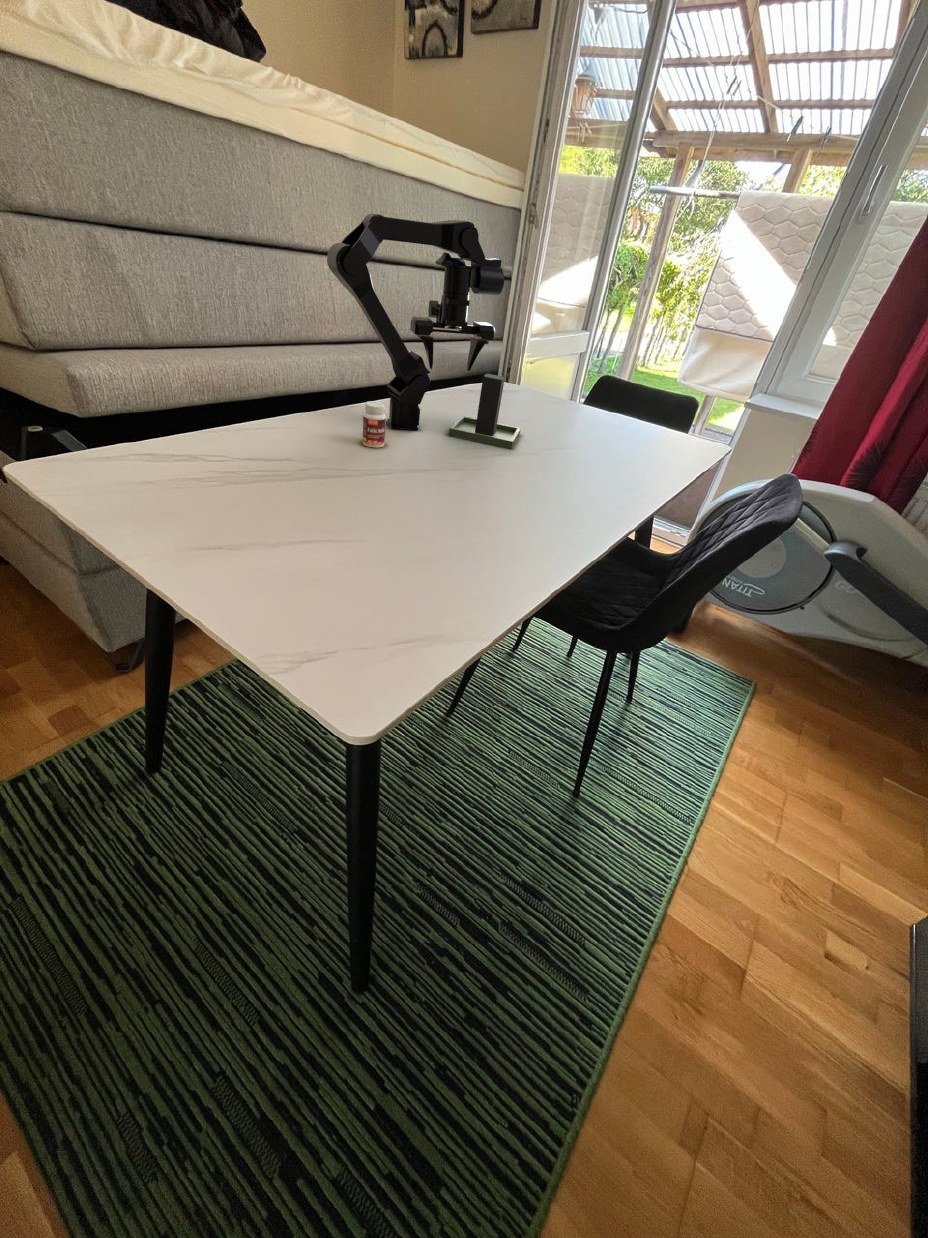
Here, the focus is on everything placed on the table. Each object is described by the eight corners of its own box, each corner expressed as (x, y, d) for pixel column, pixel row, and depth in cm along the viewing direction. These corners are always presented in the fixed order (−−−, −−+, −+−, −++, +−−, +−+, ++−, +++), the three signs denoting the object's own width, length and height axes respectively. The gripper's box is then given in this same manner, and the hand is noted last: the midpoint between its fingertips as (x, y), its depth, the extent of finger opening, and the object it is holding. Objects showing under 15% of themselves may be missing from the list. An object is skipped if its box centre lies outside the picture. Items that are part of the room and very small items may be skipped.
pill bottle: (366, 448, 109) (367, 407, 104) (359, 440, 112) (360, 400, 107) (387, 447, 111) (389, 407, 106) (380, 440, 114) (381, 400, 109)
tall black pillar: (474, 433, 126) (483, 376, 119) (478, 428, 129) (486, 373, 122) (492, 436, 126) (502, 379, 118) (495, 432, 129) (505, 376, 121)
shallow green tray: (448, 435, 124) (449, 427, 123) (461, 422, 134) (462, 415, 133) (511, 449, 122) (512, 441, 121) (519, 435, 132) (520, 428, 131)
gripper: (485, 291, 121) (477, 363, 131) (407, 283, 116) (404, 359, 126) (500, 298, 113) (490, 374, 122) (417, 290, 108) (413, 370, 117)
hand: (449, 369), depth 122 cm, fingers open, 9 cm apart
